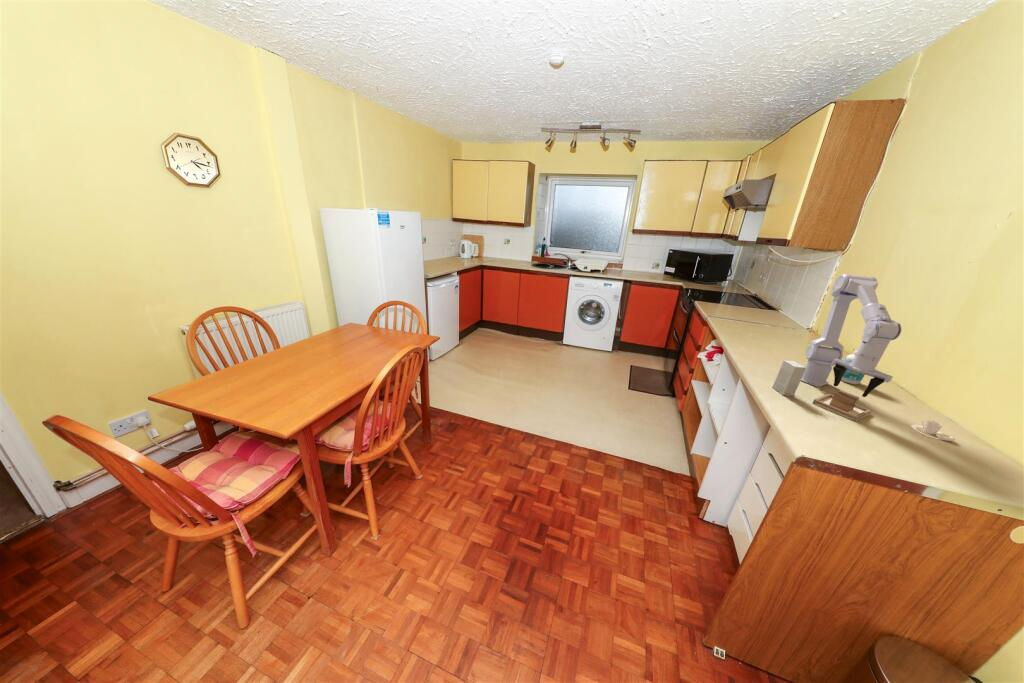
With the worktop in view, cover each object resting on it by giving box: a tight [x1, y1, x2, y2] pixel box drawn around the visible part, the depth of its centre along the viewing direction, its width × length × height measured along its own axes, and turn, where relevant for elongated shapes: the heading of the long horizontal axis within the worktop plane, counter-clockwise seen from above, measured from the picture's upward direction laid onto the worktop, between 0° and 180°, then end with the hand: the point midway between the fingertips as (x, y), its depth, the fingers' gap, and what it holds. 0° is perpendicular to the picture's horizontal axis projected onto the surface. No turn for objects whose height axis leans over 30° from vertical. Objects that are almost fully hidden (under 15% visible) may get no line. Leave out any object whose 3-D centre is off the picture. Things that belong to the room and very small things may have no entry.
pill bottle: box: [840, 349, 865, 385], centre depth 136 cm, size 8×7×14 cm
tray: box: [812, 393, 872, 422], centre depth 116 cm, size 12×12×2 cm
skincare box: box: [771, 359, 806, 397], centre depth 123 cm, size 6×4×12 cm
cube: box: [829, 390, 860, 412], centre depth 115 cm, size 5×5×5 cm
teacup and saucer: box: [910, 419, 956, 442], centre depth 105 cm, size 9×8×4 cm
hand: (849, 390), depth 114 cm, fingers open, 7 cm apart
